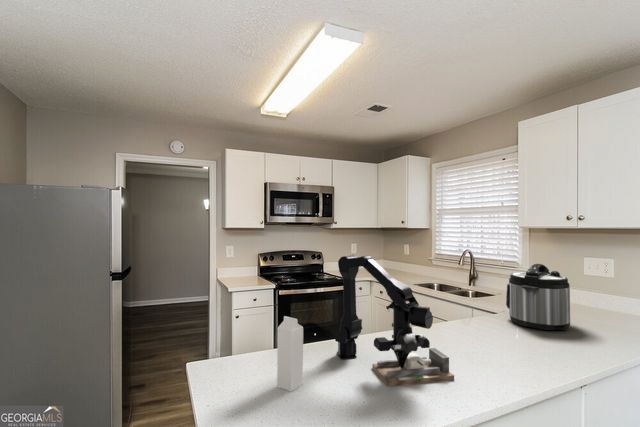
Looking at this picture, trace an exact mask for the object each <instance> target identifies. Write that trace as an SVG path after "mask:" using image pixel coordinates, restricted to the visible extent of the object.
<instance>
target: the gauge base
mask: <svg viewBox="0 0 640 427" xmlns="http://www.w3.org/2000/svg"><path fill="white" fill-rule="evenodd" d="M421 358H422V359H431V364H424V368H419V369H408V370H407V369H406V368H405V367H403V368H401V367H400V365H399V363H398V360H397V359H389V360H377V363H372V366H371V369H372V370H373V371H374V373H376V375H378V377H379V378H380V379H381V380H382V381H383V383H384V384H385V386H387V387H397V386H398V387H399V386H407V385H418V384H419V385H420V384H427V383H438V382H447V381H455V374H453V373H451V372H450V357H449V356H447V355H446V354H444V353H443V352H442V351H440V350H439V349H437V348H435V347H432V348H430V347H429V348H428V358H427V357H425V356H423V357H421Z"/></svg>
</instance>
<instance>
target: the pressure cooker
mask: <svg viewBox="0 0 640 427" xmlns="http://www.w3.org/2000/svg"><path fill="white" fill-rule="evenodd" d="M570 288H571V287H570V283H569V278H568V277H565V276H562V275H561V274H560V272H559V271H557V270H552V271H550V269H549V268H548V267H547V266H546V265H545V264H541V263H534V264H532V265H531V266H530V267H529V268H528V269H527V270H526V272H525V271H524V272H513V273H510V278H508V283H506V295H505V296H506V297H505V298H506V304H505V305H506V307H507V309H509V310H508V311H509V318H510V320H511V321H512V322H513V323H515V324H518V325H520V326H524V327H528V328H534V329H537V330H538V329H539V330H545V331H554V330H558V331H564V330H567V329H568V328H570V325H571V292H570V291H571V290H570Z"/></svg>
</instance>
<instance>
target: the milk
mask: <svg viewBox="0 0 640 427" xmlns="http://www.w3.org/2000/svg"><path fill="white" fill-rule="evenodd" d="M276 352H277V362H276V365H277V369H276V370H277V372H276V373H277V374H276V377H277V378H276V384H277V385H276V386H277V387H278V388H281V389H284V390H285V391H288V392H290V393H291V392H293V391H294V390H296V389H298V388H300V387H301V386H303V385H304V381H303V380H304V326H302V325H301V324H299V323H298V318H295V317H290V316H286V315H284V316H283V321H282V322H281V323H280V324H279V325H278V327H277V351H276Z"/></svg>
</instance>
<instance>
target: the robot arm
mask: <svg viewBox="0 0 640 427" xmlns="http://www.w3.org/2000/svg"><path fill="white" fill-rule="evenodd" d="M337 262H338V263H337V267H338V271H339V274H340V276H341V278H342V283H343V284H342V285H343V286H342V288H343V290H342V291H343V316H342V318H341V320H340V324H339V330H338V332H336V333H335V334H334V335H333V336H334V340H335V342H336V343H337V351H336V354H337V356H338V357H339V359H341V360H344V359H356V358H357V343H356V340H357V339H358V337H359V335H360V334H361V333H362V330H363V329H364V328H363V319H362V318H359V317H358V315H357V294H356V291H357V289H356V286H357V285H356V278H357V275H358V273H359V268H360V267H362V268H364V269H365V271H367V272H368V273H369V274H370V276H372V277H373V278H374V279H375V280H376V281H377V282H378V283H379V284H380V285H381V286H382V287H383V288H384V289H385V292H386V295H387V296H388V297H389V298H390V300H391V303H389V305H388V306H387V308H388V309H392V310H393V312H392V316H393V317H392V318H393V322H392V323H391V327H392V329H393V330H392V332H393V333H392V334H391V338H392V339H390V340H389V339H388V338H386V337H384V336H383V337H375V338H374V340H373V346H374V348H376V349H377V350H378V351H379V352H389V351H390V350H392V352H393V353H394V355H395V357H396V360H398V363H399V365H400V367H401V368H403V367H404V364H405V362H406V359H407V357H408V355H409V354H410V353H412V352H417V351H418V349H419V347H420V348H421V349H429V348H430V346H431V344H430V340H429V339H428V338H427V337H426V336H424V335H423V334H414V333H413V328H412V327H411V325H412V326H415V327H419V328H423V329H427V330H430V329H431V328H432V325H433V320H434V316H433V313H432V312H431V310H430V309H431V308H430V307H429V306H421V305H420V304H419V302H418V300H417V298H416V297H415V295H414V294H413V290H412V289H411V287H410V286H408V285H407V284H405V283H404V282H402V281H400V280H397V279H395V278H394V277H393V276H391V274H390V273H388V272H387V271H386V270H385V269H384V267H382V266H381V264H379V263H378V262H377V261H375V260H374V259H373V257H372V256H371V255H363V256H359V257H357V256H356V255H353V254H352V255H345V256H341V257H340V258H339V259H338V261H337Z"/></svg>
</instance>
